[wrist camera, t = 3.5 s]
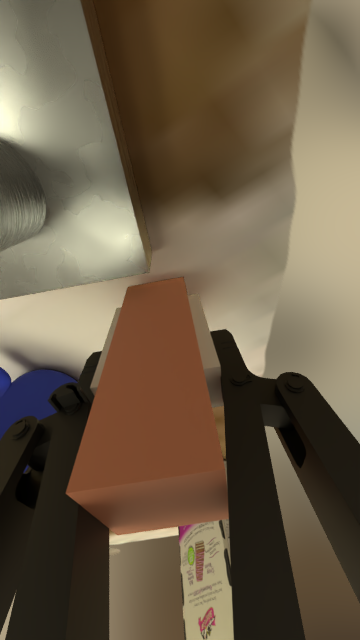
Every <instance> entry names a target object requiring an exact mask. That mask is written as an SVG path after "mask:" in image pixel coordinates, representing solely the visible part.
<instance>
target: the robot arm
mask: <svg viewBox="0 0 360 640" xmlns="http://www.w3.org/2000/svg"><path fill="white" fill-rule="evenodd" d="M188 300H189V305H190V309H191V314H192V319H193V323H194V328H195V332H196V337H197V342H198V346H199V351H200V355H201V360H202V364H203V369H204V374H205V378H206V383H207V387H208V392H209V397H210V401H211V406H212V407H218V406H224V416H225V440H226V464H227V489H228V513H229V537H230V561H231V586H232V610H233V634H234V640H305V635H304V630H303V625H302V619H301V614H300V609H299V604H298V599H297V593H296V588H295V583H294V578H293V573H292V568H291V563H290V557H289V552H288V547H287V541H286V536H285V531H284V526H283V521H282V515H281V511H280V505H279V500H278V495H277V489H276V484H275V479H274V474H273V469H272V464H271V459H270V453H269V448H268V442H267V437H266V433H265V427H264V426H271V427H274V429H275V430H276V433H277V435H278V437H279V439H280V441H281V443H282V445H283V447H284V449H285V451H286V453H287V455H288V457H289V459H290V461H291V464H292V466H293V467H294V470H295V471H296V474H297V476H298V478H299V480H300V482H301V484H302V486H303V488H304V490H305V492H306V494H307V496H308V498H309V500H310V502H311V504H312V507H313V509H314V511H315V513H316V515H317V517H318V519H319V521H320V523H321V525H322V527H323V529H324V531H325V533H326V535H327V537H328V539H329V541H330V543H331V545H332V547H333V550H334V552H335V554H336V555H337V558H338V560H339V561H340V564H341V566H342V568H343V570H344V572H345V574H346V576H347V578H348V580H349V582H350V584H351V586H352V588H353V590H354V593H355V594H356V596H357V599H358V601H359V603H360V444H359V443H358V441H357V440H356V439H355V437H354V436H353V435H352V434H351V432H350V431H349V430H348V428H347V427H346V426H345V425H344V423H343V422H342V421H341V419H340V418H339V417H338V416H337V414H336V413H335V412H334V411H333V409H332V408H331V407H330V405H329V404H328V403H327V401H326V400H325V399H324V398H323V396H322V395H321V394H320V392H319V391H318V390H317V389H316V387H315V386H314V385H313V384H312V382H311V381H310V380H309V379H308V378H307V377H305V376H303V375H301V374H299V373H294V372H286V373H283V374H281V375H280V376H279V377H278V378H277V379H268V378H262V377H258V376H256V375H254V374H252V373H251V372H250V371H249V370H248V369H247V367H246V365H245V363H244V361H243V358H242V356H241V354H240V352H239V349H238V347H237V345H236V343H235V340H234V338H233V336H232V334H231V333H230V332H229V331H227V330H226V329H223V330H217V331H212V332H210V331H209V327H208V324H207V321H206V318H205V315H204V311H203V308H202V305H201V302H200V298H199V295H198V294H193V295H188ZM121 308H122V307H121ZM121 308H117V309H116V312H115V315H114V318H113V321H112V324H111V327H110V330H109V332H108V335H107V338H106V341H105V344H104V347H103V350H102V351H100V352H94V353H92V355H91V356H90V357H89V358H88V359H87V361H86V364H85V366H84V369H83V371H82V374H81V376H80V379H79V381H78V383H74V382H70V383H66V384H64V385H61V386H60V387H58V388H57V389H56V390H54V391H53V393H52V394H51V395H50V397H49V399H48V402H49V403H50V404H51V405H52V407H53V408H54V409H55V410H56V411H57V412H56V413H54V414H52V415H50V416H48V417H46V418H43V419H41V420H38V419H37V418H36V417H35V416H26V417H23V418H21V419H19V420H18V421H16V422H15V423H14V424H12V425H11V426H10V427H9V428H8V430H7V431H6V432H5V434H4V435H3V437H2V438H1V440H0V633H1V631H2V628H3V625H4V623H5V620H6V617H7V614H8V611H9V609H10V606H11V603H12V601H13V598H14V595H15V593H16V595H15V599H14V603H13V608H12V612H11V617H10V621H9V625H8V630H7V634H6V638H5V640H109V528H108V527H107V526H105V525H104V524H103V523H102V522H100V521H99V520H98V519H97V518H95V517H94V516H93V515H92V514H90V513H89V512H88V511H87V510H86V509H84V508H83V507H82V506H81V505H79V504H78V503H77V502H76V501H74V500H73V499H72V498H71V497H69V496H68V495H67V494H66V490H67V487H68V484H69V480H70V477H71V474H72V470H73V467H74V464H75V460H76V457H77V454H78V450H79V447H80V444H81V441H82V437H83V434H84V431H85V427H86V424H87V421H88V417H89V414H90V411H91V407H92V404H93V401H94V397H95V394H96V391H97V387H98V384H99V381H100V377H101V374H102V371H103V368H104V364H105V361H106V358H107V354H108V351H109V348H110V344H111V341H112V338H113V334H114V331H115V328H116V324H117V321H118V318H119V314H120V311H121ZM223 402H224V404H223ZM27 465H28V466H29V467H28V469H27V470H26V472H25V473H23V472H24V470H25V468H26V466H27Z"/></svg>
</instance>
